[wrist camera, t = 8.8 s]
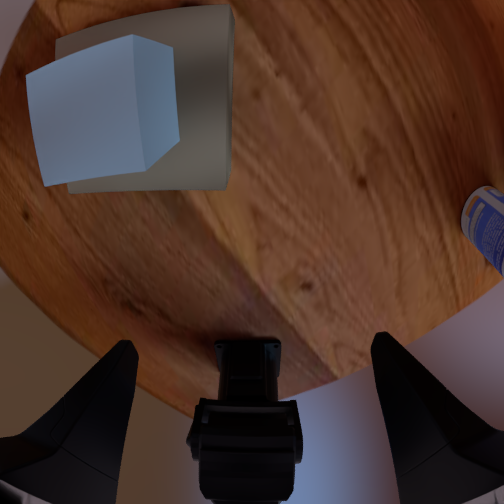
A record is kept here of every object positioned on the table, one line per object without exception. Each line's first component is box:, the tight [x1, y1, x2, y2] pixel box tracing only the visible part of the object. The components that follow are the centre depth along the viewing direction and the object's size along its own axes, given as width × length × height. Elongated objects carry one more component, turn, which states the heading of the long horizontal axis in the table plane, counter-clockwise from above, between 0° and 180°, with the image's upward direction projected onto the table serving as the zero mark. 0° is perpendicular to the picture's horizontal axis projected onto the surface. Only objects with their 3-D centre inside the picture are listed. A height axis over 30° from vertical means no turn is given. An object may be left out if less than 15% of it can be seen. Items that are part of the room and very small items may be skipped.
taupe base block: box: [55, 4, 235, 194], centre depth 14 cm, size 10×10×4 cm
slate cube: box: [26, 34, 180, 187], centre depth 10 cm, size 5×5×5 cm
